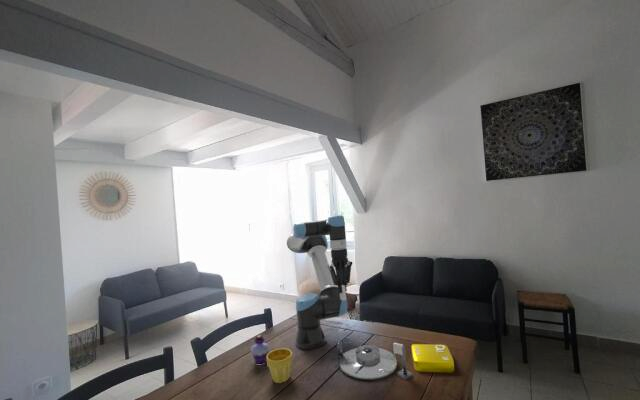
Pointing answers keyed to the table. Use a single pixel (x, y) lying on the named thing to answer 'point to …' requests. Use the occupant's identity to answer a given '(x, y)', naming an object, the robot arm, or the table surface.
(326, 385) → the table surface
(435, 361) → the element tile
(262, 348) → the potion bottle
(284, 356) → the plant pot
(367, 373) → the turntable
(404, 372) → the stand
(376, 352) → the cover
